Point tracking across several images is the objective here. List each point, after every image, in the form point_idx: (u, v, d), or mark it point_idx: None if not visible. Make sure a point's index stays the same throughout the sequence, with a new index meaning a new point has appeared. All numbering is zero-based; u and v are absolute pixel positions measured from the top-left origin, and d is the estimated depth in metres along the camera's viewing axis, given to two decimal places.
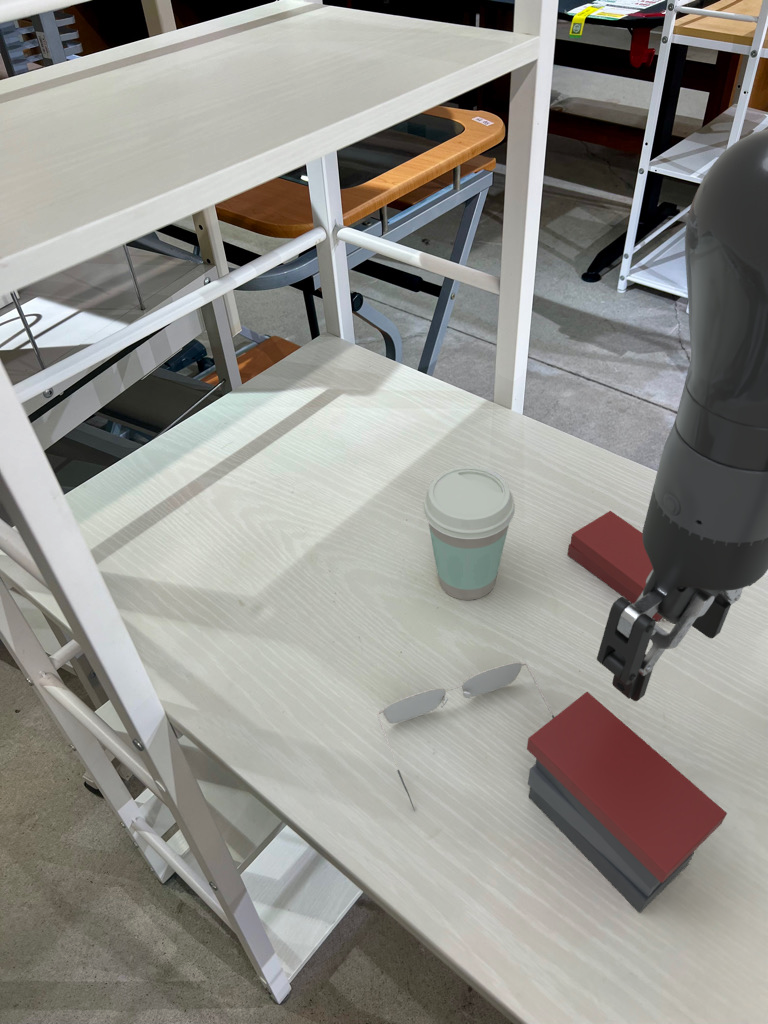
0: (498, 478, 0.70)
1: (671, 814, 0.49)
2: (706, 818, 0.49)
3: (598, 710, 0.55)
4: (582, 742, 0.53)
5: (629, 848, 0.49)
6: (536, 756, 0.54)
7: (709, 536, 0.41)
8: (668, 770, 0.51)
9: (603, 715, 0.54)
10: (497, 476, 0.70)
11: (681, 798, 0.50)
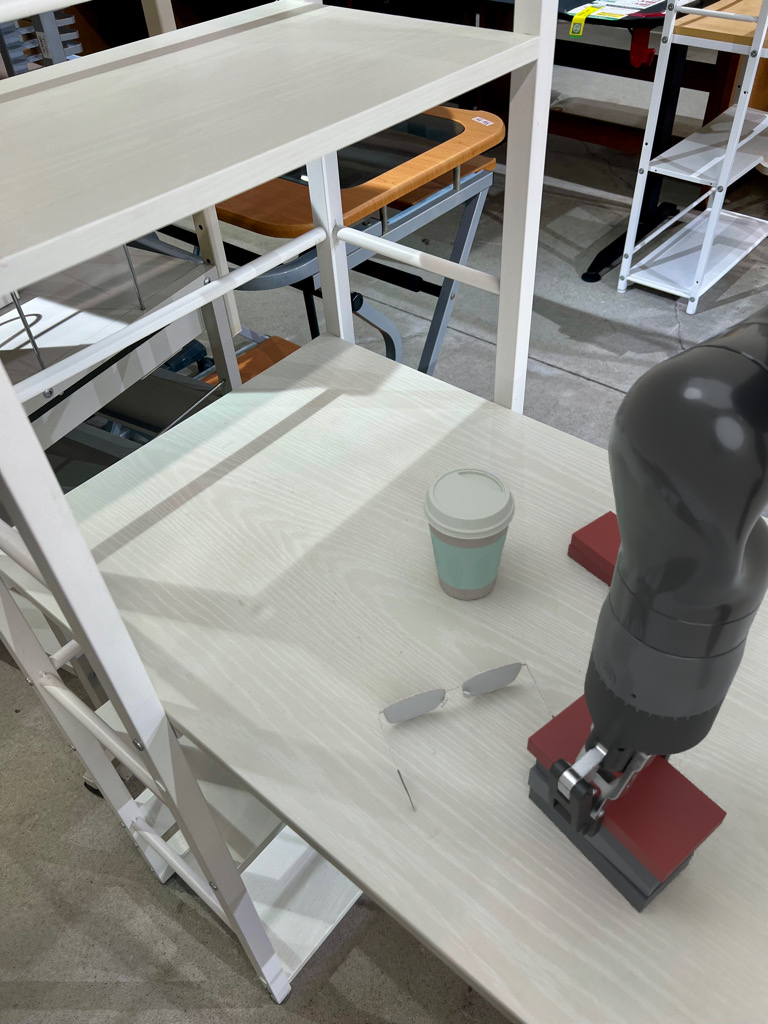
0: (498, 478, 0.70)
1: (671, 814, 0.49)
2: (706, 818, 0.49)
3: None
4: (582, 742, 0.53)
5: (629, 848, 0.49)
6: (536, 756, 0.54)
7: (644, 709, 0.40)
8: (668, 770, 0.51)
9: None
10: (497, 476, 0.70)
11: (681, 798, 0.50)
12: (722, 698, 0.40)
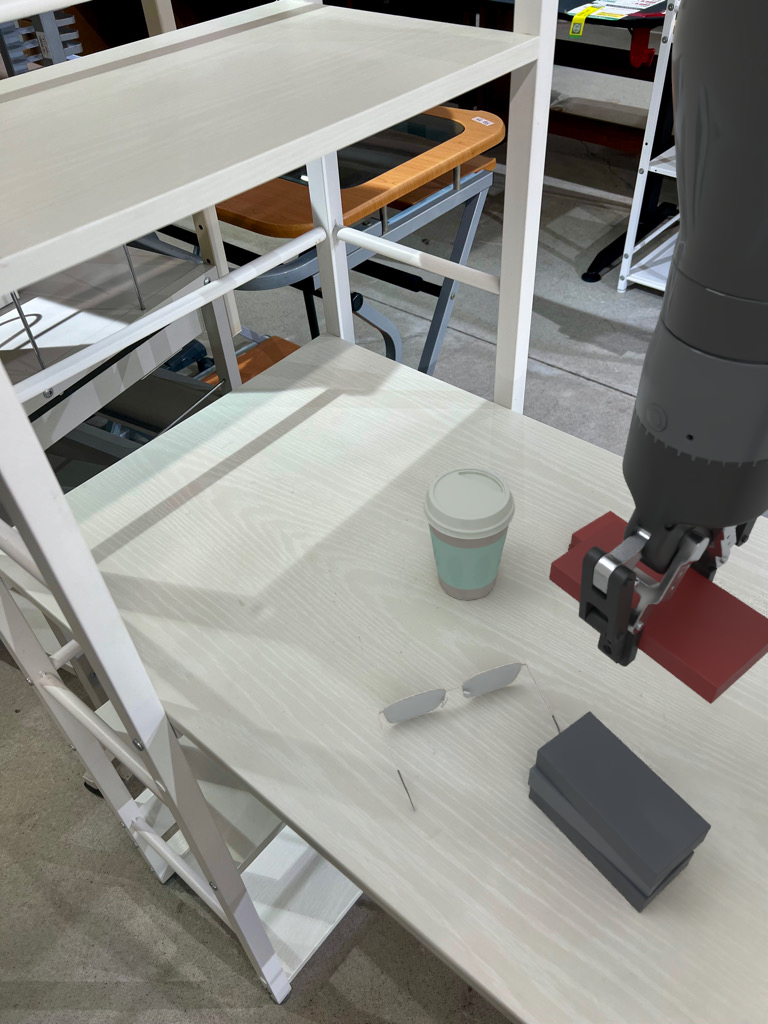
0: (498, 478, 0.70)
1: (719, 631, 0.42)
2: (760, 633, 0.42)
3: None
4: None
5: (671, 669, 0.42)
6: (560, 584, 0.47)
7: (703, 455, 0.33)
8: (713, 589, 0.45)
9: None
10: (497, 476, 0.70)
11: (730, 615, 0.43)
12: None
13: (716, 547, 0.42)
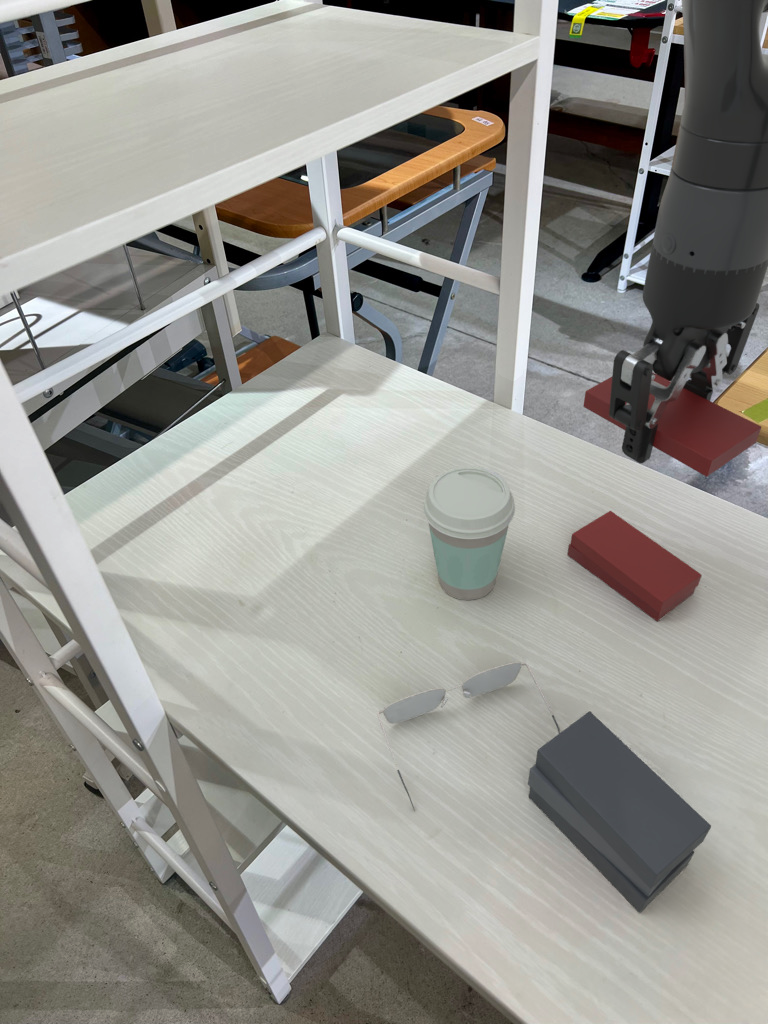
0: (498, 478, 0.70)
1: (713, 428, 0.57)
2: (744, 429, 0.56)
3: None
4: None
5: (677, 456, 0.56)
6: (592, 408, 0.62)
7: (701, 266, 0.47)
8: (709, 405, 0.59)
9: None
10: (497, 476, 0.70)
11: (721, 419, 0.57)
12: (765, 259, 0.48)
13: (711, 365, 0.56)
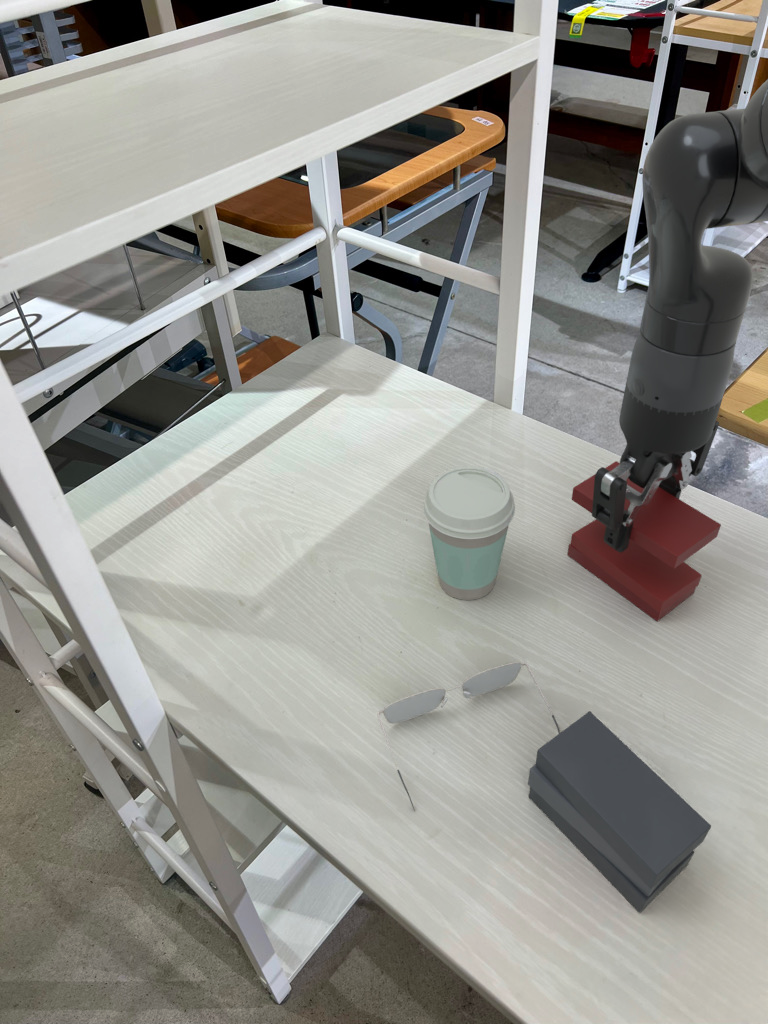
0: (498, 478, 0.70)
1: (680, 526, 0.67)
2: (706, 527, 0.67)
3: None
4: None
5: (650, 549, 0.67)
6: (579, 502, 0.72)
7: (664, 408, 0.58)
8: (678, 502, 0.69)
9: None
10: (497, 476, 0.70)
11: (687, 517, 0.68)
12: (717, 402, 0.58)
13: (678, 473, 0.67)
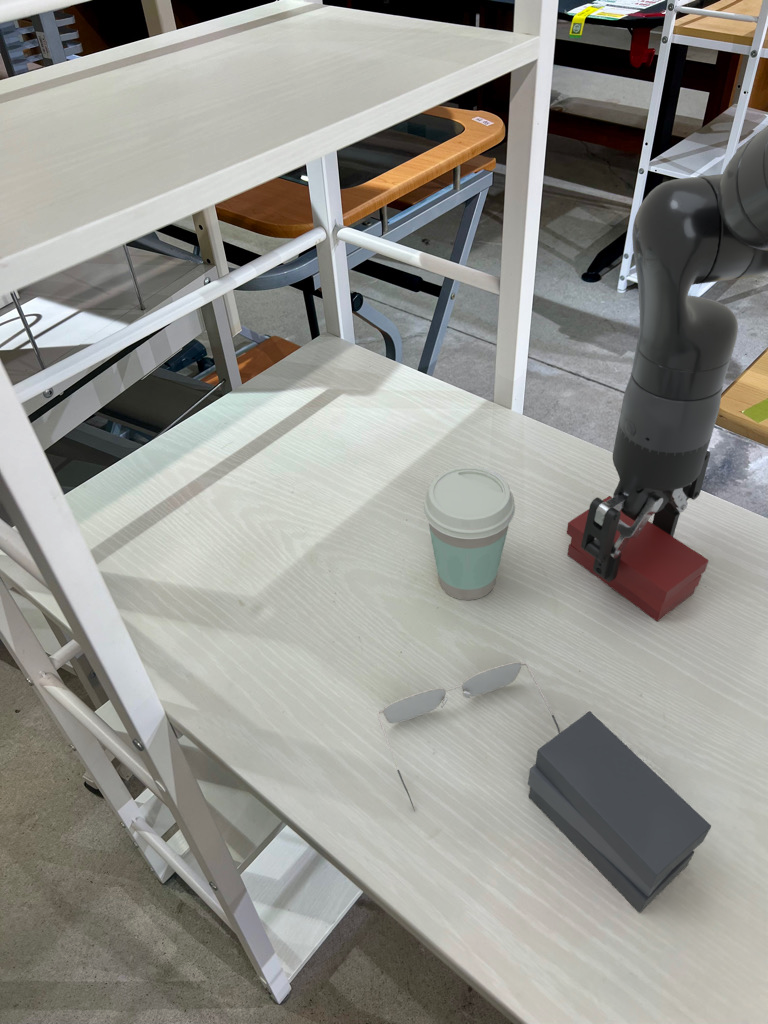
0: (498, 478, 0.70)
1: (670, 561, 0.70)
2: (694, 562, 0.70)
3: None
4: None
5: (641, 584, 0.70)
6: (573, 536, 0.75)
7: (654, 449, 0.61)
8: (668, 538, 0.72)
9: None
10: (497, 476, 0.70)
11: (677, 552, 0.71)
12: (705, 442, 0.61)
13: (673, 502, 0.70)
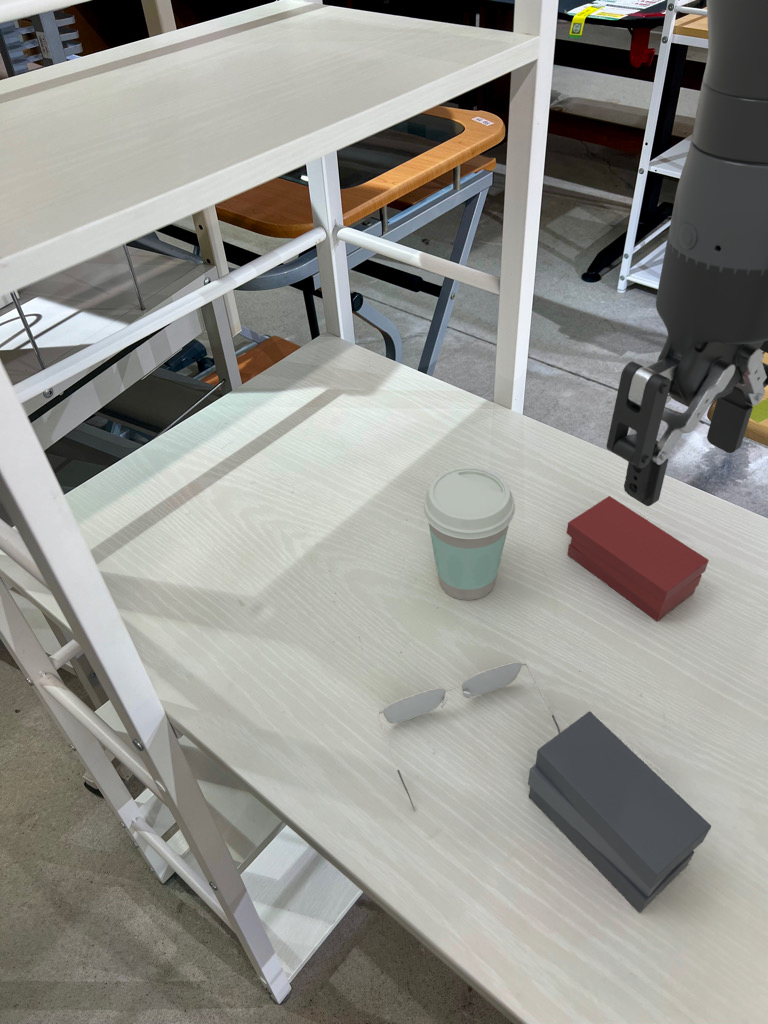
0: (498, 478, 0.70)
1: (670, 561, 0.70)
2: (694, 562, 0.70)
3: (617, 506, 0.76)
4: (606, 524, 0.74)
5: (641, 584, 0.70)
6: (573, 536, 0.75)
7: (729, 265, 0.37)
8: (668, 538, 0.72)
9: (621, 509, 0.76)
10: (498, 476, 0.70)
11: (677, 552, 0.71)
12: None
13: (747, 383, 0.46)
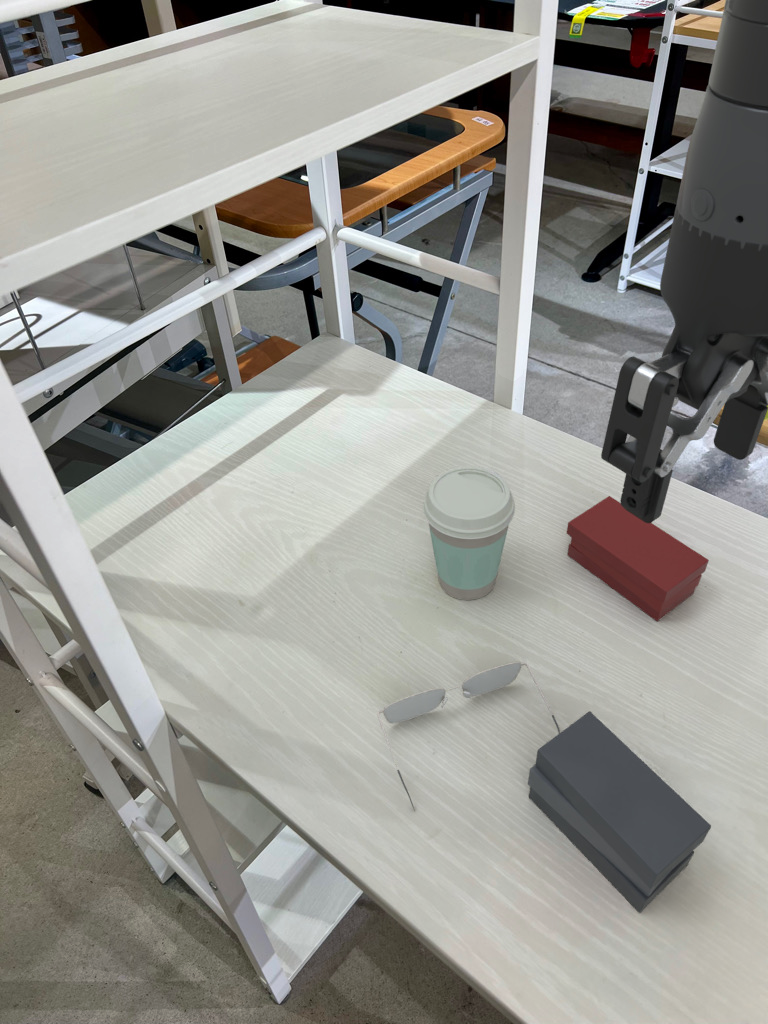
0: (498, 478, 0.70)
1: (670, 561, 0.70)
2: (694, 562, 0.70)
3: (617, 506, 0.76)
4: (606, 524, 0.74)
5: (641, 584, 0.70)
6: (573, 536, 0.75)
7: (753, 239, 0.31)
8: (668, 538, 0.72)
9: (621, 509, 0.76)
10: (497, 476, 0.70)
11: (677, 552, 0.71)
12: None
13: (764, 381, 0.40)
